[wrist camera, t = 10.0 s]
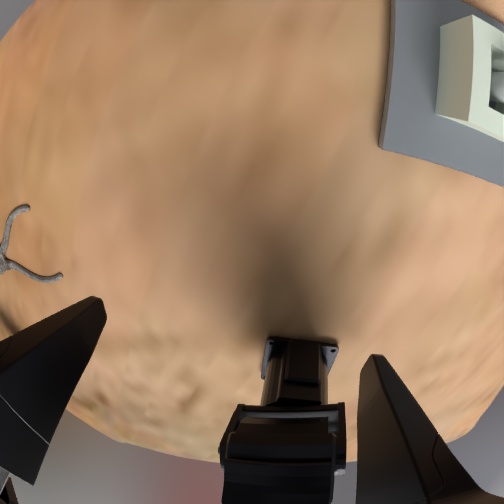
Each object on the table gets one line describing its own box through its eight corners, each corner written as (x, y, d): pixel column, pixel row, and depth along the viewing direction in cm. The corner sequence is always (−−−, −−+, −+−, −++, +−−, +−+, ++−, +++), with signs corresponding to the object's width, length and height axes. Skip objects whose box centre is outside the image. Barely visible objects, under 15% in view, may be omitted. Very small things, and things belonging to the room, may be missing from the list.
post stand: (511, 188, 14) (566, 230, 8) (377, 146, 15) (420, 177, 9) (527, 48, 8) (587, 50, 2) (390, -22, 9) (429, -67, 3)
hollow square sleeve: (502, 142, 12) (538, 157, 9) (434, 113, 13) (468, 121, 9) (510, 63, 9) (546, 64, 6) (440, 26, 10) (472, 14, 6)
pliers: (68, 275, 25) (15, 307, 32) (73, 270, 26) (18, 304, 33) (21, 197, 21) (-18, 257, 28) (27, 194, 22) (-15, 254, 29)
